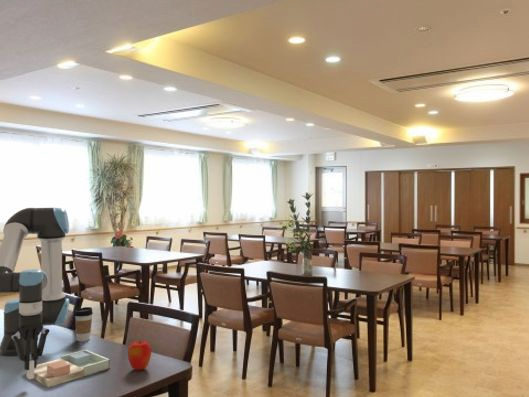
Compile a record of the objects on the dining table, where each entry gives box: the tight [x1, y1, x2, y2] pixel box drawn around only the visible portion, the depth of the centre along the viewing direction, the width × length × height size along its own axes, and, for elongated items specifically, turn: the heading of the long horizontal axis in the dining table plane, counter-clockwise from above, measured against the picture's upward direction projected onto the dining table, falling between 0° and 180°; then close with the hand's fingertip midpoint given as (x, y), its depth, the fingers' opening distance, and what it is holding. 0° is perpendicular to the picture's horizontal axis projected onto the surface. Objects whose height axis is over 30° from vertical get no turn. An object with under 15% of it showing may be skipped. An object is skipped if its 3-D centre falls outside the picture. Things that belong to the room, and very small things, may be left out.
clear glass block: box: [69, 352, 90, 366], centre depth 191 cm, size 6×6×3 cm
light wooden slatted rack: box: [25, 358, 85, 388], centre depth 178 cm, size 19×14×2 cm
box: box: [60, 349, 111, 377], centre depth 188 cm, size 19×11×4 cm, turn 50°
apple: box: [127, 340, 152, 371], centre depth 185 cm, size 9×9×12 cm
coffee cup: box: [74, 306, 94, 342], centre depth 224 cm, size 8×8×15 cm
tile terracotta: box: [47, 361, 70, 377], centre depth 175 cm, size 6×6×3 cm
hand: (30, 377), depth 167 cm, fingers closed
